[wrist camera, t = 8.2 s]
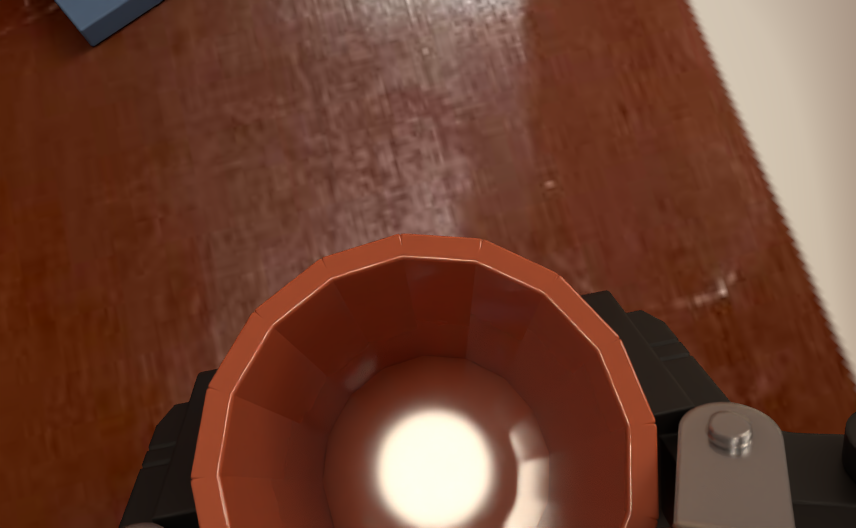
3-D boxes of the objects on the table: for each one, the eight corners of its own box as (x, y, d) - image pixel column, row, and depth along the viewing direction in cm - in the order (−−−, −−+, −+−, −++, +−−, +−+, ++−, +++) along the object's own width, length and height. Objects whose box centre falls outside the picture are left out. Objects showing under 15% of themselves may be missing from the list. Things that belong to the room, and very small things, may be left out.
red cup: (449, 299, 18) (447, 157, 10) (614, 483, 16) (759, 479, 9) (263, 453, 17) (106, 424, 9) (422, 668, 15) (391, 850, 7)
